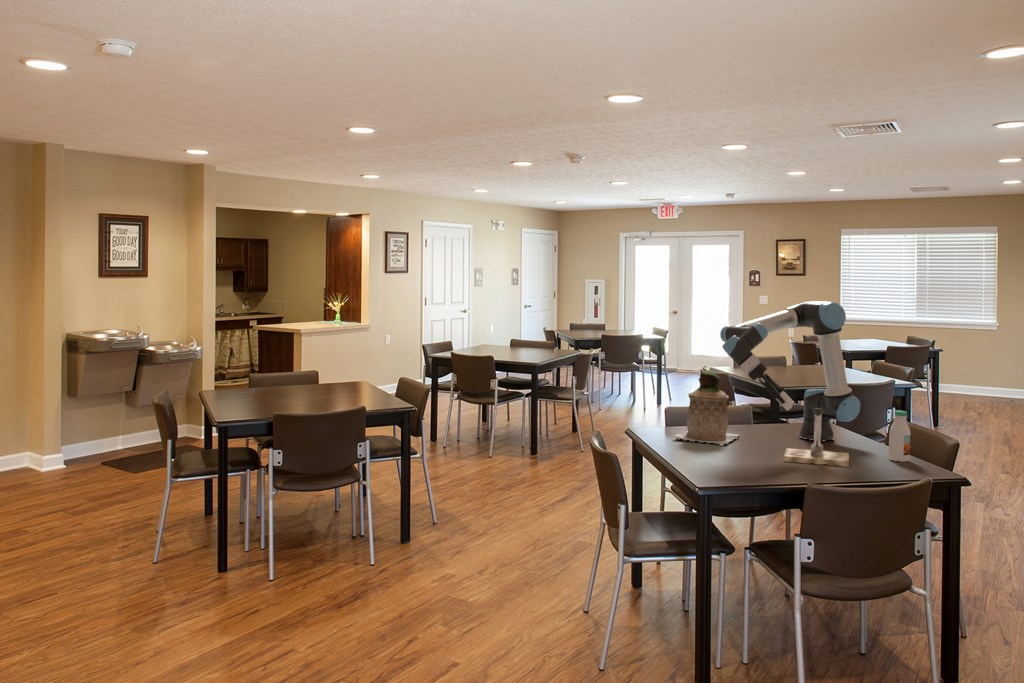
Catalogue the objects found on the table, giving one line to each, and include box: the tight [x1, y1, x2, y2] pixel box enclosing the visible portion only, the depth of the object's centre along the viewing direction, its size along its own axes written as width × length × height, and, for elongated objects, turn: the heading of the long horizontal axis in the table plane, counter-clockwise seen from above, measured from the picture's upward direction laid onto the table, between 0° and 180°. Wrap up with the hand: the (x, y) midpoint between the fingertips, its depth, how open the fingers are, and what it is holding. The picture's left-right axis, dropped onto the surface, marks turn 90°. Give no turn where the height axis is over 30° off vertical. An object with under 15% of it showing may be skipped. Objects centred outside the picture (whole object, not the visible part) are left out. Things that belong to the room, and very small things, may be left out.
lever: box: [813, 408, 823, 447], centre depth 326 cm, size 3×3×18 cm
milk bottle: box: [887, 410, 911, 463], centre depth 327 cm, size 8×8×20 cm
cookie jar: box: [673, 368, 740, 446], centre depth 368 cm, size 25×25×32 cm
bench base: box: [783, 443, 850, 468], centre depth 327 cm, size 24×18×6 cm
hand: (791, 406), depth 329 cm, fingers open, 13 cm apart
